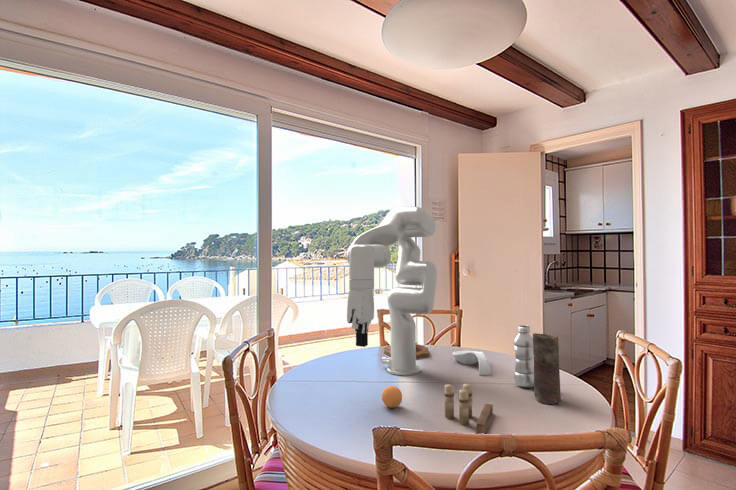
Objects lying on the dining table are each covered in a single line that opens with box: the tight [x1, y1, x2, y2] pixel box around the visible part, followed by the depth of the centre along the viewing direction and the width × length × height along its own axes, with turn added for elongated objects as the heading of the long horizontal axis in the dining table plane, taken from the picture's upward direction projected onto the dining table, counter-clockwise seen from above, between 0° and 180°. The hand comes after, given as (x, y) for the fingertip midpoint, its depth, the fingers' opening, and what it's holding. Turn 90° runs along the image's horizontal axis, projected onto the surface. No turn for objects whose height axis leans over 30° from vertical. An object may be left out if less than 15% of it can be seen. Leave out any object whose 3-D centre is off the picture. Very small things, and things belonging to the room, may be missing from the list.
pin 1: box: [462, 383, 473, 419], centre depth 110 cm, size 2×2×8 cm
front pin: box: [444, 383, 455, 420], centre depth 110 cm, size 2×2×8 cm
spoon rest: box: [452, 350, 492, 376], centre depth 157 cm, size 24×12×7 cm, turn 8°
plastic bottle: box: [513, 325, 534, 388], centre depth 134 cm, size 6×7×20 cm
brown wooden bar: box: [475, 403, 494, 434], centre depth 106 cm, size 2×14×2 cm, turn 155°
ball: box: [381, 385, 403, 409], centre depth 117 cm, size 6×6×6 cm
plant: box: [383, 341, 430, 360], centre depth 177 cm, size 20×20×11 cm
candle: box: [532, 332, 562, 405], centre depth 122 cm, size 8×7×20 cm
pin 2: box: [458, 389, 470, 426], centre depth 106 cm, size 2×2×8 cm
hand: (361, 345), depth 121 cm, fingers closed
